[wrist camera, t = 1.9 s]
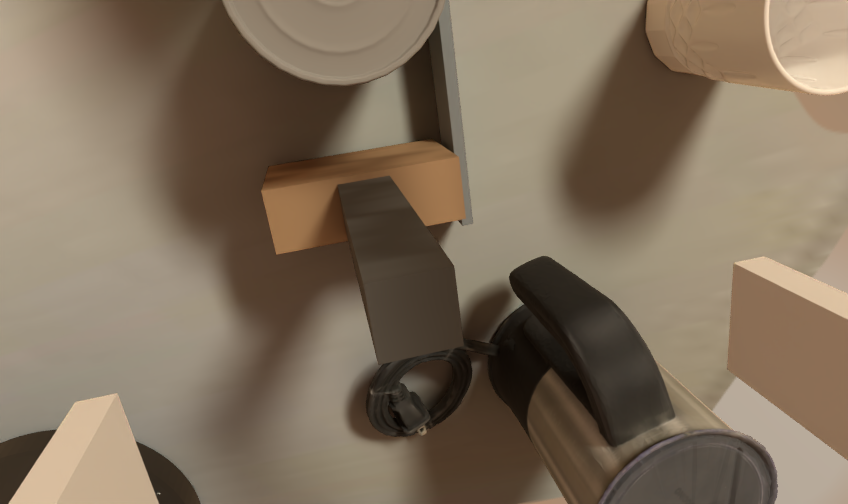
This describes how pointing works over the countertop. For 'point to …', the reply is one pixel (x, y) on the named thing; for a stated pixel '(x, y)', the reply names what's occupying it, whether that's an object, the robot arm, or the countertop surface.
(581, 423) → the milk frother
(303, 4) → the canned tomato
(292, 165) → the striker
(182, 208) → the countertop surface
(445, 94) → the frame
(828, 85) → the white cup
